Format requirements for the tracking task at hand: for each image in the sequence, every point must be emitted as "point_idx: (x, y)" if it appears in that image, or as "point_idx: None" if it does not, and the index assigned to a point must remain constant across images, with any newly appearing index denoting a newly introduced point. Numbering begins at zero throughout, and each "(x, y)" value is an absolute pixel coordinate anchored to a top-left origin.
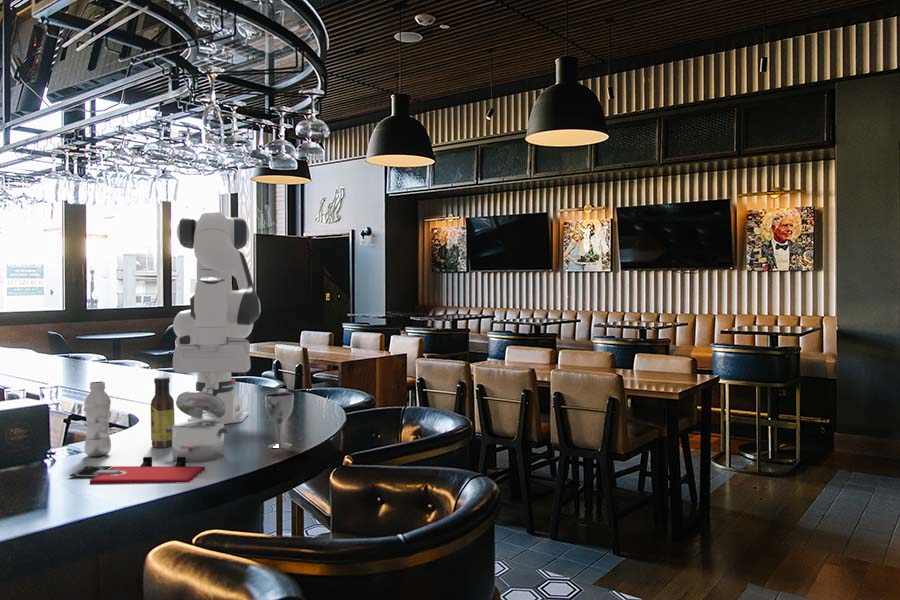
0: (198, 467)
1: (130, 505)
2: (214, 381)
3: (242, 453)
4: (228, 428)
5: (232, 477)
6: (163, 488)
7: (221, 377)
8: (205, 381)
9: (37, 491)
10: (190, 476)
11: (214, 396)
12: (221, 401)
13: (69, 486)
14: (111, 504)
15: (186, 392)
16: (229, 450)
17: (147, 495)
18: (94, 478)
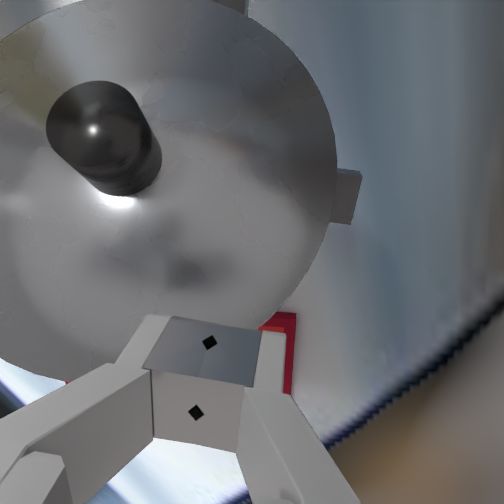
0: (279, 325)
1: (232, 496)
2: (247, 481)
3: (389, 98)
4: (354, 204)
5: (392, 390)
6: None
7: (339, 491)
8: (113, 453)
9: (12, 409)
10: (284, 390)
11: (262, 321)
12: (316, 252)
13: (45, 392)
14: (197, 487)
15: (4, 357)
16: (317, 25)
17: (236, 462)
18: (69, 382)
